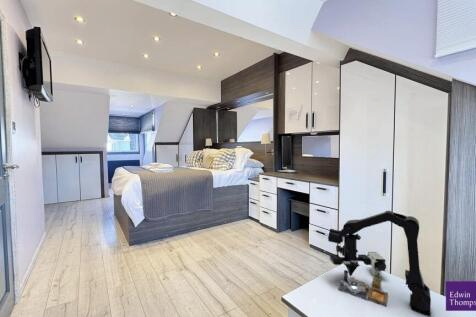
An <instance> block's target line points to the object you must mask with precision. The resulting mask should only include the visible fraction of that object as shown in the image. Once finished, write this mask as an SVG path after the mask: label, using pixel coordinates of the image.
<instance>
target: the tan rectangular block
mask: <svg viewBox="0 0 476 317" xmlns="http://www.w3.org/2000/svg"><path fill="white" fill-rule="evenodd" d="M371 282H372V284H371V287H372V288H375V289H378V290H381V289H382V278H381V277H377V276H373V277H372V280H371ZM381 291H382V290H381Z"/></svg>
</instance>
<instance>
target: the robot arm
mask: <svg viewBox="0 0 476 317" xmlns="http://www.w3.org/2000/svg"><path fill="white" fill-rule="evenodd" d="M386 222H390V223H393V224H394V225H396V226H398V227H400V228H403V231H404V235H405V237H406V242H407V244H406V246H407V254H408V255H407V256H408V266H409V268H408V270H407V269H404V277H405V285H406V286H407V288H408V290H410V291H411V293H410V294H409V295H410V296H409V306H410V308H411V310H412V311H415V312H417V313H419V314H422V315H426V316H428V317H431V316H432V313H431V306H432V305H431V303H432V301H431V300H432V298H431V290H430V289H431V288H429V286H427V284H425V282H424V278H423V274H422V272H421V268H420V259H419V257H420V256H419V249H418V248H419V247H418V246H419V245H418V239H419V233H420V222H419V219H417V218H416V217H415V216H410V215H409V216H407V215H404V214H401V213H397V212H393V211H392V210H386V211H384V212H381V213H377V214H374V215H370V216H368V217H365V218H361V219H350V220H346V222H345V223H344V224H343V227H342V228H341V230H338V229H334V228H330V229H329V233H328V237H327V240H328V243H329V242H330V243H334V244H338V245H336V247H335V250H336V252H337V253H339V254H341V256H340V255H339V254H330V256H329V260H330V261H331V263H332V264H333V265H335V266H340V265H342V264H343V265H344V266H345V267H346V270H347V271H348V276H349V277H353V276H352V275H353V274H354V273H355V271H356V270H357V269H358V267H360V264H359V262H363V264H364V265H365V266H371V259H370V258H369V257H368V256H367V254H357V253H358V252H359V250H358V249H357V242H358V241H361V238H362V236H361V235H359V233H358V232H360V231H361V230H363V229H365V228H369V227H372V226H375V225H380V224H383V223H386ZM342 243H343V245H341V244H342Z"/></svg>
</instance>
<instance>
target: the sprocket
mask: <svg viewBox="0 0 476 317" xmlns="http://www.w3.org/2000/svg"><path fill="white" fill-rule="evenodd" d="M348 276H349V273H348V270H347V269H344V270H343V277H342V280H343V281H342V280H341V279H340V281H339V285H340V284H341V285H343V286H344V289H345V290H349V291H352V292H353V294H357V293H363V294H366V290H368V286H365V281H363V280H359V279H356V278H355V277H353V276H351V277H348ZM368 291H369V290H368Z"/></svg>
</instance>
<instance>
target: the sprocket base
mask: <svg viewBox="0 0 476 317" xmlns="http://www.w3.org/2000/svg"><path fill="white" fill-rule="evenodd" d="M342 281H343V279H342ZM364 284H365V283H364ZM365 286H368V290H366V294H363V293H357V294H353V292H352V291H349V290H345V289H344V286H343V285H341V284H340V283H339V286H338V288H337V289H338V291H340V292H343V293H345V294H349V295H351V296H354V297H357V298H359V299H363V300H365V301H366V300H367V296H368V292H369V288H370V285H368V284H365Z"/></svg>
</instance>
